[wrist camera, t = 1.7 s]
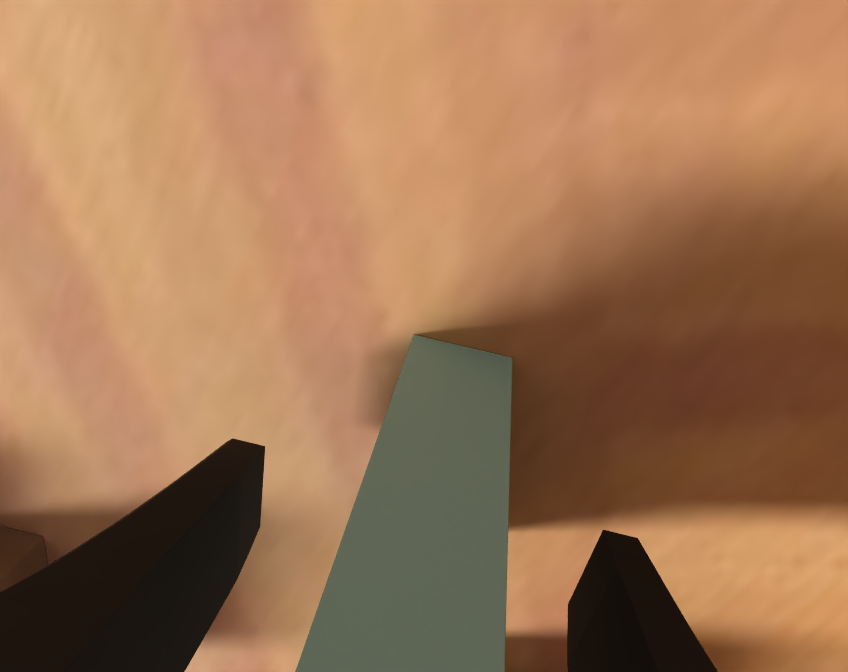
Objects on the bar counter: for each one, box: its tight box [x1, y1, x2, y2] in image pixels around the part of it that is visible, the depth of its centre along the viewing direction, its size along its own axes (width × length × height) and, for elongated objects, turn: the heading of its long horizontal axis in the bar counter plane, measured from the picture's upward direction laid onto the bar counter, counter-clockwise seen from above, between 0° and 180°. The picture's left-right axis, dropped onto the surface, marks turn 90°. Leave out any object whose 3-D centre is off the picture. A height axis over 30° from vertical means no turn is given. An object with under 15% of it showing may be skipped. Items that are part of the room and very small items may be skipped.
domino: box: [296, 335, 512, 672], centre depth 9 cm, size 2×5×8 cm, turn 169°
